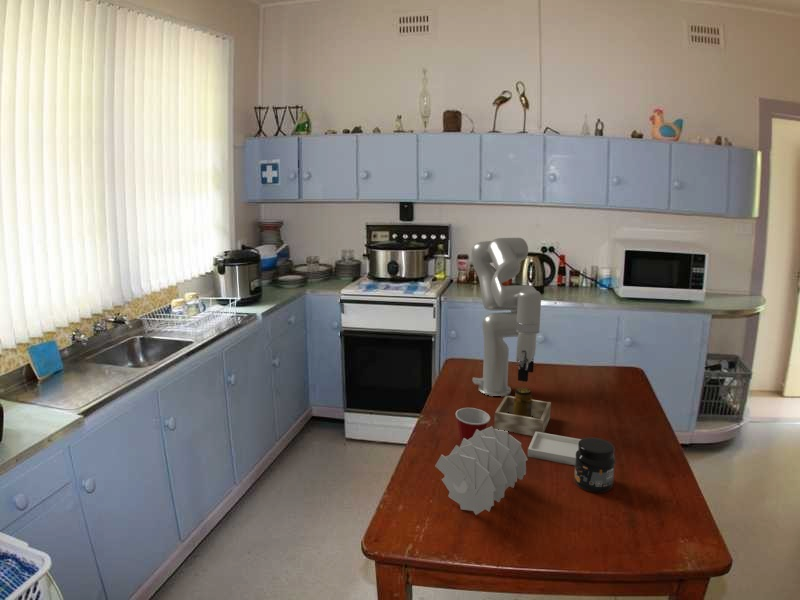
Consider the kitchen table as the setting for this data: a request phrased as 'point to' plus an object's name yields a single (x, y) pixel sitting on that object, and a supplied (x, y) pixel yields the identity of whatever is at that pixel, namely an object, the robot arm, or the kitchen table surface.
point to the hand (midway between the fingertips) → (525, 376)
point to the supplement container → (594, 465)
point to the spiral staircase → (482, 469)
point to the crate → (522, 417)
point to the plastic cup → (471, 421)
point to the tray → (553, 448)
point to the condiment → (522, 402)
